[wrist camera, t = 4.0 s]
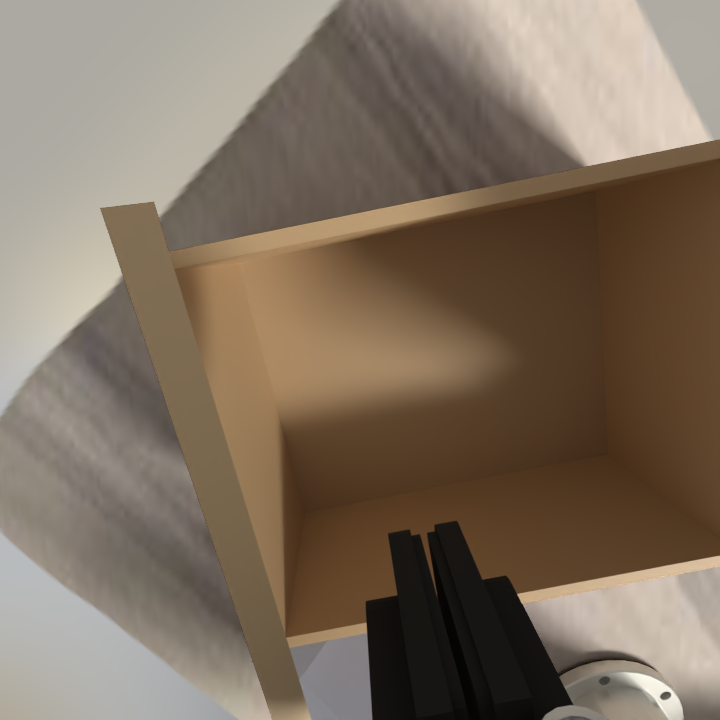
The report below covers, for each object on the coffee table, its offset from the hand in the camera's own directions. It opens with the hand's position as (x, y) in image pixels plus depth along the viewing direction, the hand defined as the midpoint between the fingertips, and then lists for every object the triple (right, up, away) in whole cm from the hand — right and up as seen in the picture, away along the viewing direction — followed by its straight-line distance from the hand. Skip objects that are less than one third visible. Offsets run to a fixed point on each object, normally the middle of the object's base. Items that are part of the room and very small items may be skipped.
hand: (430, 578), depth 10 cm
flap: (-5, 0, +2) cm, 6 cm away
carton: (+3, +5, +16) cm, 18 cm away
